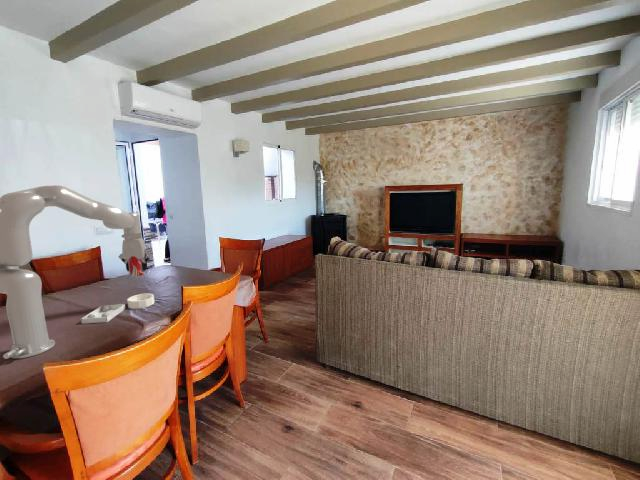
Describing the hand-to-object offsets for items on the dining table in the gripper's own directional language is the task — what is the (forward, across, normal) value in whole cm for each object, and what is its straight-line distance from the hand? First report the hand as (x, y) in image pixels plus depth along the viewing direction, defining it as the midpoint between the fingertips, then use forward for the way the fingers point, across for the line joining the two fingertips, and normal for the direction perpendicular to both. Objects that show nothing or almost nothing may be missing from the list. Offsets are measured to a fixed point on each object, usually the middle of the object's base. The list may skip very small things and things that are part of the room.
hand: (137, 270), depth 155 cm
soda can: (+3, 0, 0) cm, 3 cm away
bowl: (+19, 0, 0) cm, 19 cm away
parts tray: (+19, -11, -13) cm, 25 cm away
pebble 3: (+19, -8, -17) cm, 27 cm away
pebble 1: (+19, -14, -18) cm, 29 cm away
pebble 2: (+19, -14, -7) cm, 24 cm away
